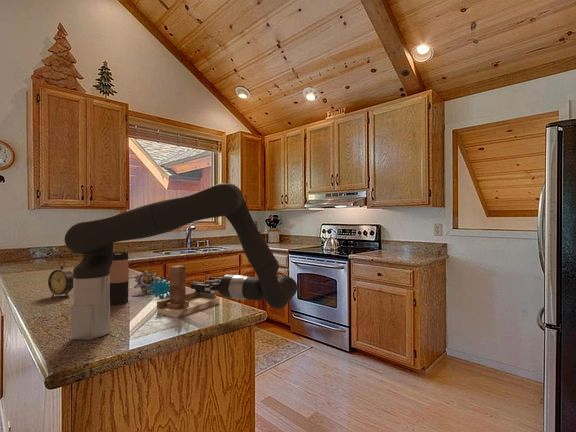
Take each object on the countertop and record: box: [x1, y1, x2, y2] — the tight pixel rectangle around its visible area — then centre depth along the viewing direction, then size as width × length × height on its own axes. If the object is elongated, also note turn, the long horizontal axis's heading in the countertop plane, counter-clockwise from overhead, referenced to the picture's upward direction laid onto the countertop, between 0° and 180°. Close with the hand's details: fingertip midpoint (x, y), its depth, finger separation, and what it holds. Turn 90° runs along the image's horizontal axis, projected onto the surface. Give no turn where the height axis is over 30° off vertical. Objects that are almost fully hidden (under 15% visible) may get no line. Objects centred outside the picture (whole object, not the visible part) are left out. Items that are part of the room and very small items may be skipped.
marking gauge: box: [167, 264, 189, 310], centre depth 115 cm, size 6×6×15 cm
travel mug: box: [110, 251, 130, 306], centre depth 130 cm, size 8×8×20 cm
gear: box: [150, 277, 170, 299], centre depth 140 cm, size 11×6×10 cm
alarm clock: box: [47, 259, 73, 298], centre depth 141 cm, size 11×5×16 cm, turn 73°
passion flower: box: [133, 269, 161, 295], centre depth 149 cm, size 11×11×12 cm
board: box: [156, 290, 220, 319], centre depth 120 cm, size 21×10×4 cm, turn 150°
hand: (200, 282), depth 110 cm, fingers open, 8 cm apart
